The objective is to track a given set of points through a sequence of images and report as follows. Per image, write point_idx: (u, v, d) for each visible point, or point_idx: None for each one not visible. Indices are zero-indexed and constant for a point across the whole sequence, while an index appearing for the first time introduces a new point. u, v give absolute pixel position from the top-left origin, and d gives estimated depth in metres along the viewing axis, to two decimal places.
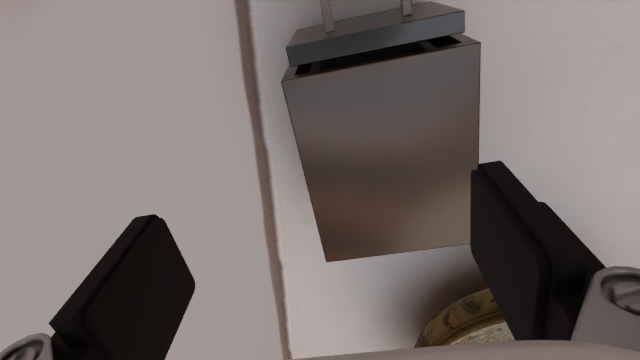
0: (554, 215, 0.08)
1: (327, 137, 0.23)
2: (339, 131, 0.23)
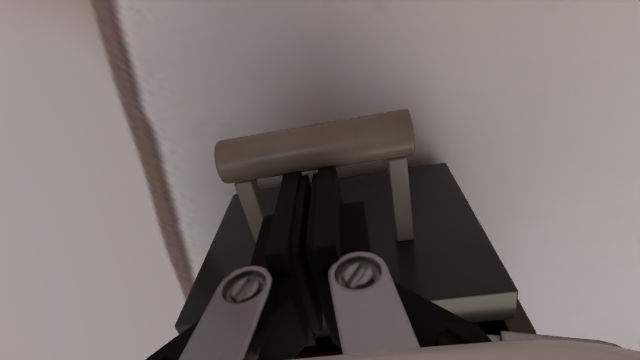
0: (365, 211, 0.10)
1: None
2: None
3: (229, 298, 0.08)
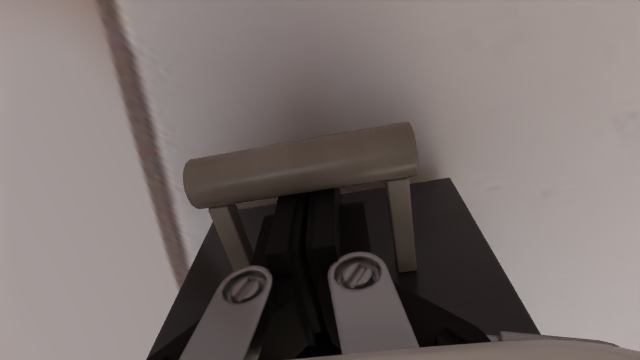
0: (364, 211, 0.10)
1: None
2: None
3: (230, 298, 0.08)
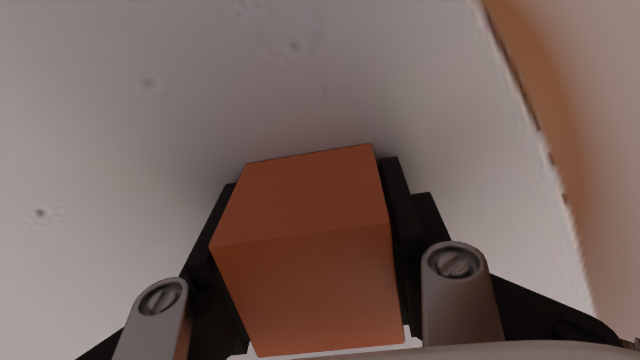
0: (433, 203, 0.10)
1: None
2: None
3: (146, 309, 0.08)
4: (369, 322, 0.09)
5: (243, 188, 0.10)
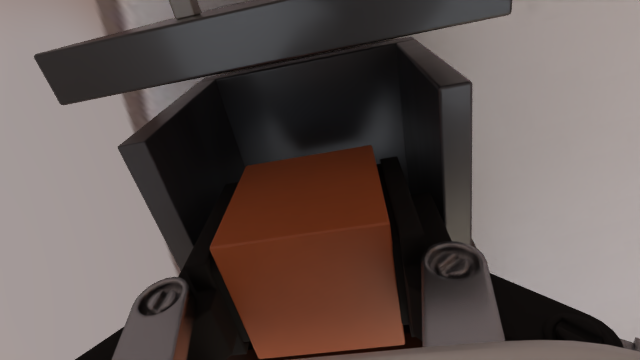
0: (433, 203, 0.10)
1: None
2: None
3: (146, 310, 0.08)
4: (370, 324, 0.09)
5: (244, 190, 0.10)
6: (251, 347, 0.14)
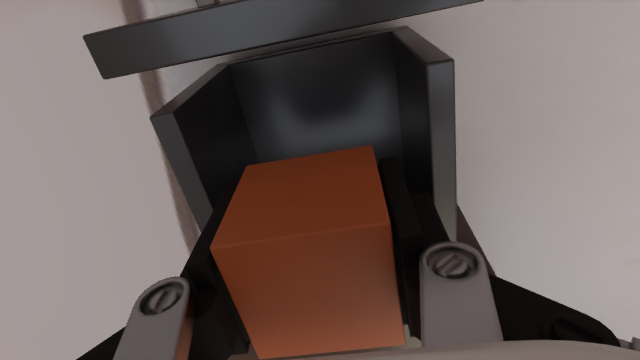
0: (433, 203, 0.10)
1: None
2: None
3: (148, 309, 0.08)
4: (370, 324, 0.09)
5: (244, 190, 0.10)
6: None
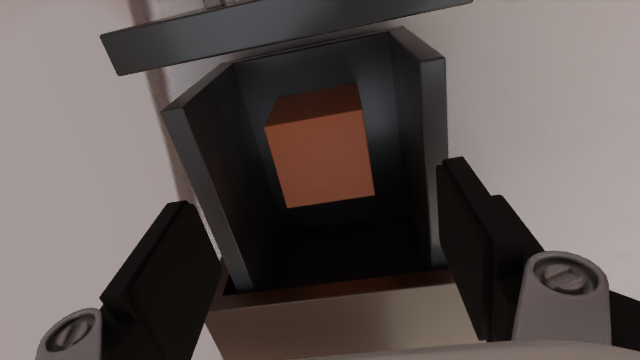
0: (508, 207, 0.09)
1: None
2: None
3: (56, 344, 0.07)
4: (353, 179, 0.15)
5: (278, 106, 0.16)
6: None
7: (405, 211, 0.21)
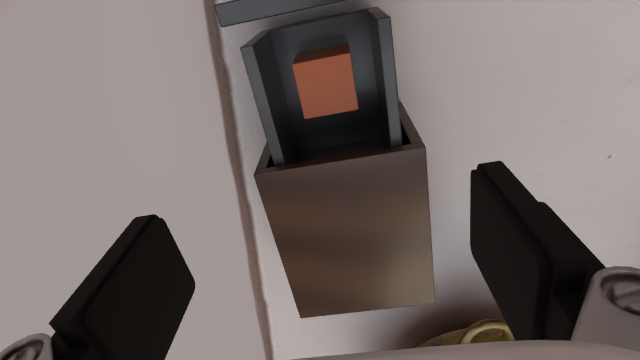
0: (554, 215, 0.08)
1: (296, 218, 0.26)
2: (306, 214, 0.26)
3: None
4: (345, 98, 0.26)
5: (298, 56, 0.26)
6: None
7: (381, 134, 0.31)
